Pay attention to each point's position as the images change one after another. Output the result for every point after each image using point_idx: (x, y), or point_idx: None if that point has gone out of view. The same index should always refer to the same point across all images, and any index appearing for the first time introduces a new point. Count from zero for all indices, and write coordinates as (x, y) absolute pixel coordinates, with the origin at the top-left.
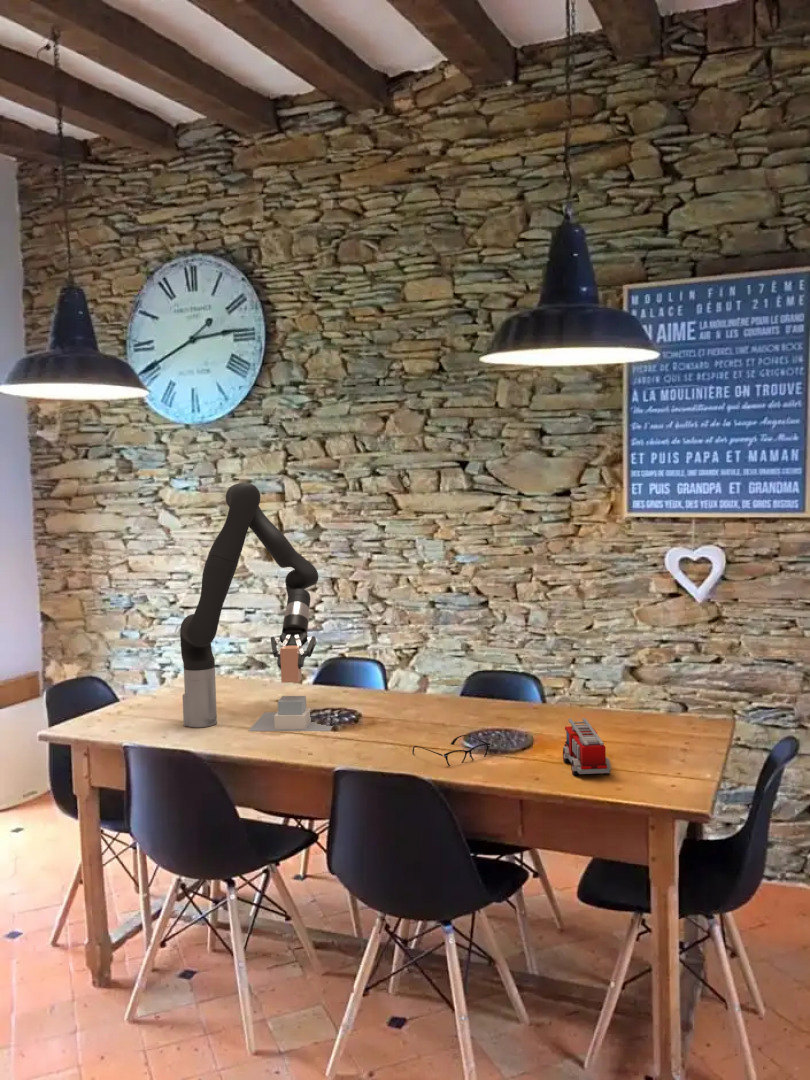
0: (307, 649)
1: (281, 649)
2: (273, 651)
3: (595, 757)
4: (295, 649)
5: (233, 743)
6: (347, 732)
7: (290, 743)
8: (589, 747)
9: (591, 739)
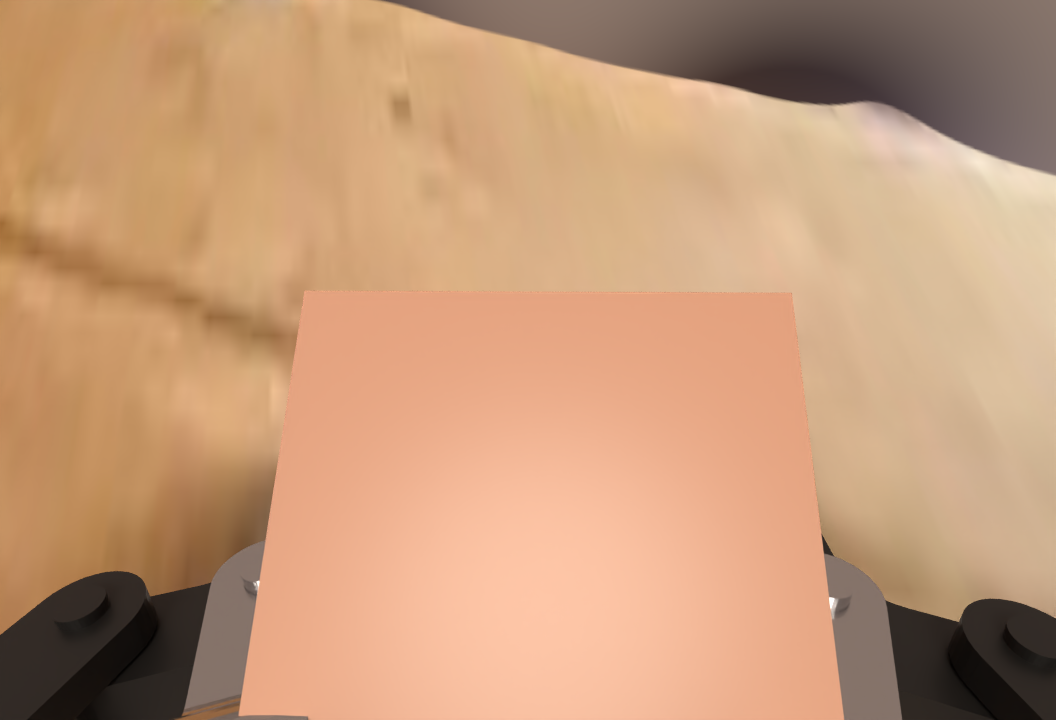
0: (72, 643)
1: (744, 298)
2: (1047, 639)
3: None
4: (359, 300)
5: (809, 251)
6: (228, 445)
7: (514, 250)
8: None
9: None
